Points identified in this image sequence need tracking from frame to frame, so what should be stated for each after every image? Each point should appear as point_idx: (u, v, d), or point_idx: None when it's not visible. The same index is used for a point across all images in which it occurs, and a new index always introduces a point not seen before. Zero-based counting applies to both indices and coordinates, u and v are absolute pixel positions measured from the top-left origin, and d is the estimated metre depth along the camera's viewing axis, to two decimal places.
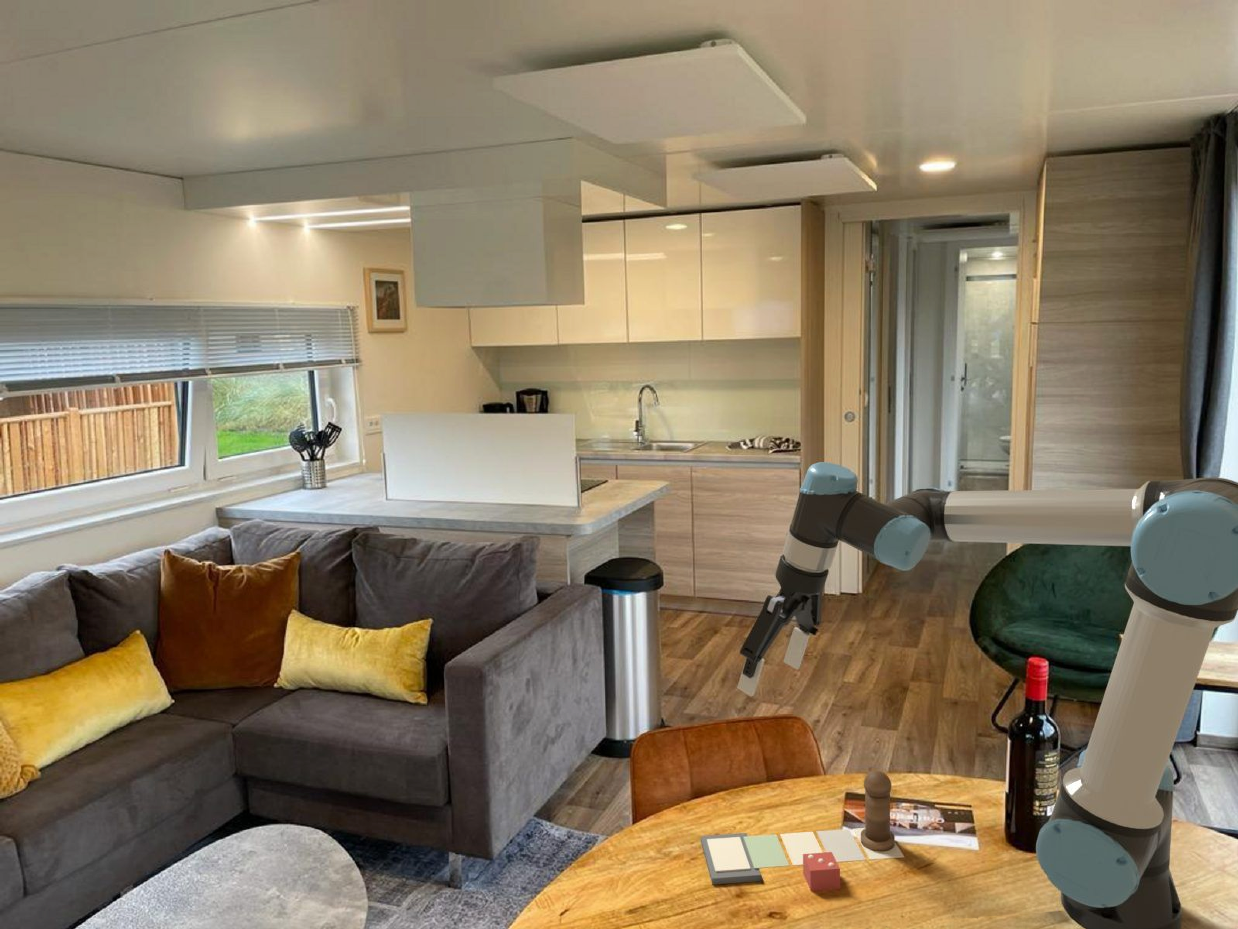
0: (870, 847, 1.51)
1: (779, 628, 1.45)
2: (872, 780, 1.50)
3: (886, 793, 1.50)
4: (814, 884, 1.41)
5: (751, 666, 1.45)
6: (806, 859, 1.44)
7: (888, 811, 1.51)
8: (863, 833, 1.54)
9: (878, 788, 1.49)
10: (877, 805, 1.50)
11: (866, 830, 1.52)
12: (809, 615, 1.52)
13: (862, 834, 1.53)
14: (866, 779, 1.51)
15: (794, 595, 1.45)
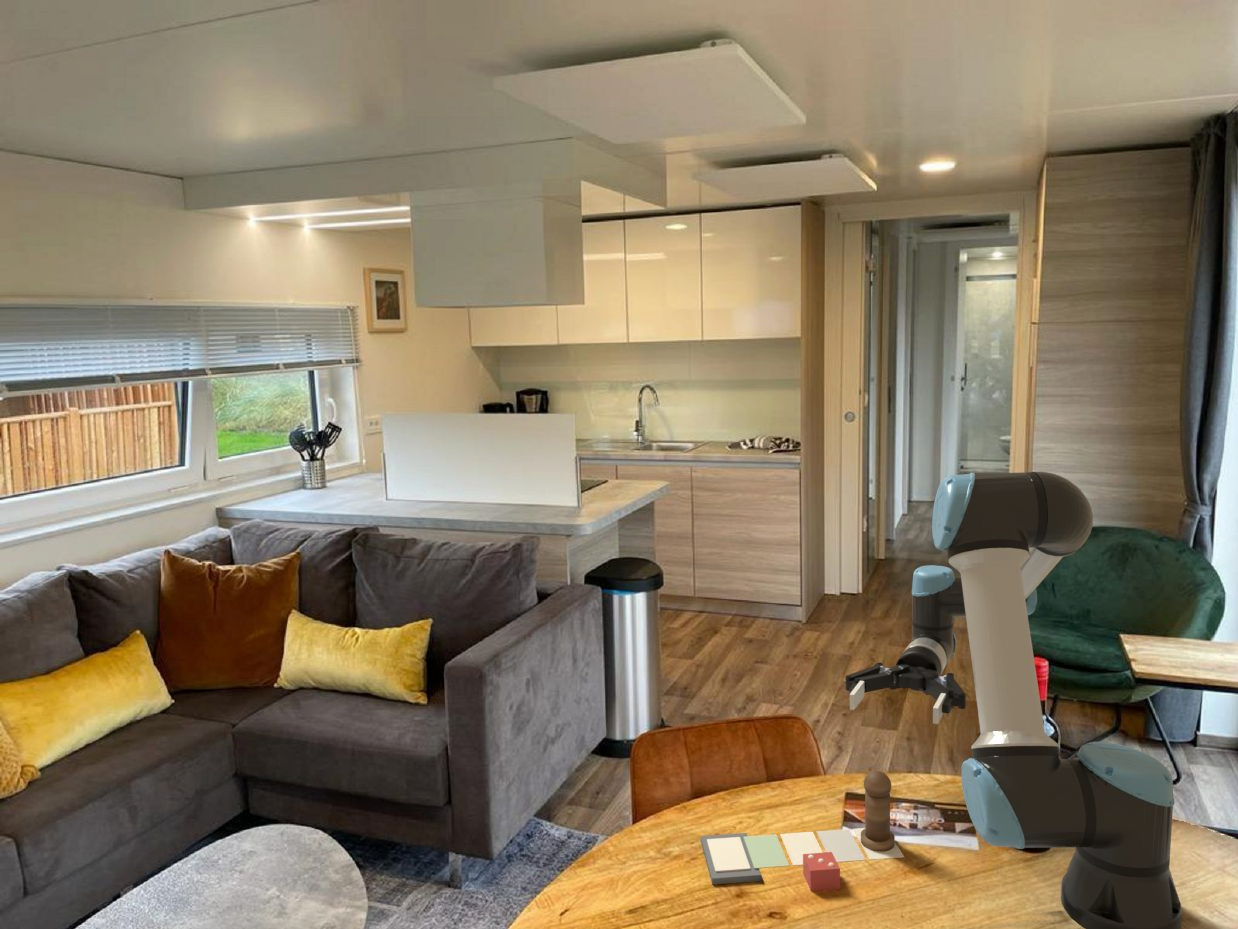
0: (870, 847, 1.51)
1: (883, 674, 1.70)
2: (872, 780, 1.50)
3: (886, 793, 1.50)
4: (814, 884, 1.41)
5: (851, 686, 1.67)
6: (806, 859, 1.44)
7: (888, 811, 1.51)
8: (863, 833, 1.54)
9: (878, 788, 1.49)
10: (877, 805, 1.50)
11: (866, 830, 1.52)
12: (936, 683, 1.65)
13: (862, 834, 1.53)
14: (866, 779, 1.51)
15: None
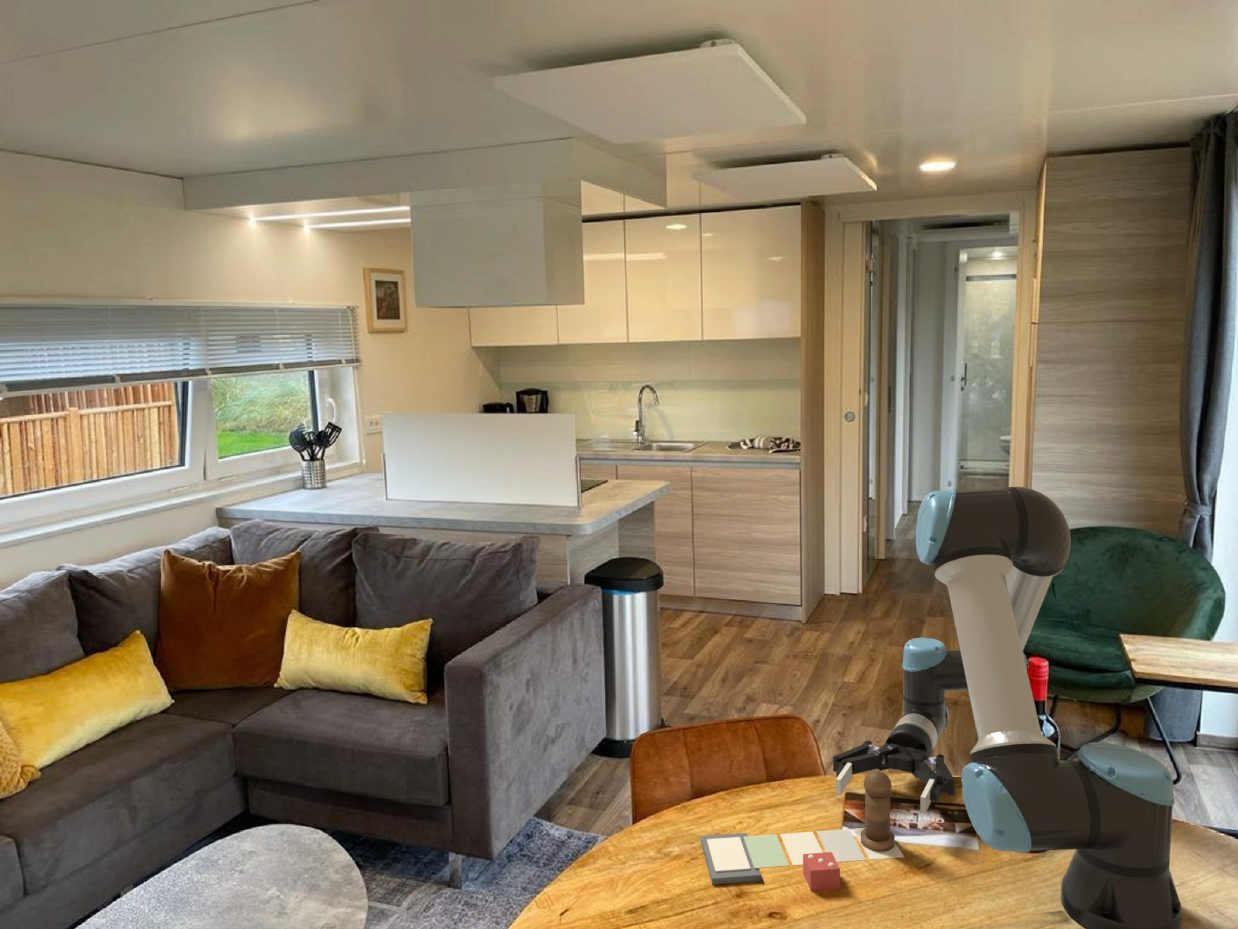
0: (870, 847, 1.51)
1: (871, 754, 1.66)
2: (872, 780, 1.50)
3: (886, 793, 1.50)
4: (814, 884, 1.41)
5: None
6: (806, 859, 1.44)
7: (888, 811, 1.51)
8: (863, 833, 1.54)
9: (878, 788, 1.49)
10: (877, 805, 1.50)
11: (866, 830, 1.52)
12: (926, 766, 1.61)
13: (862, 834, 1.53)
14: (866, 779, 1.51)
15: (890, 745, 1.70)
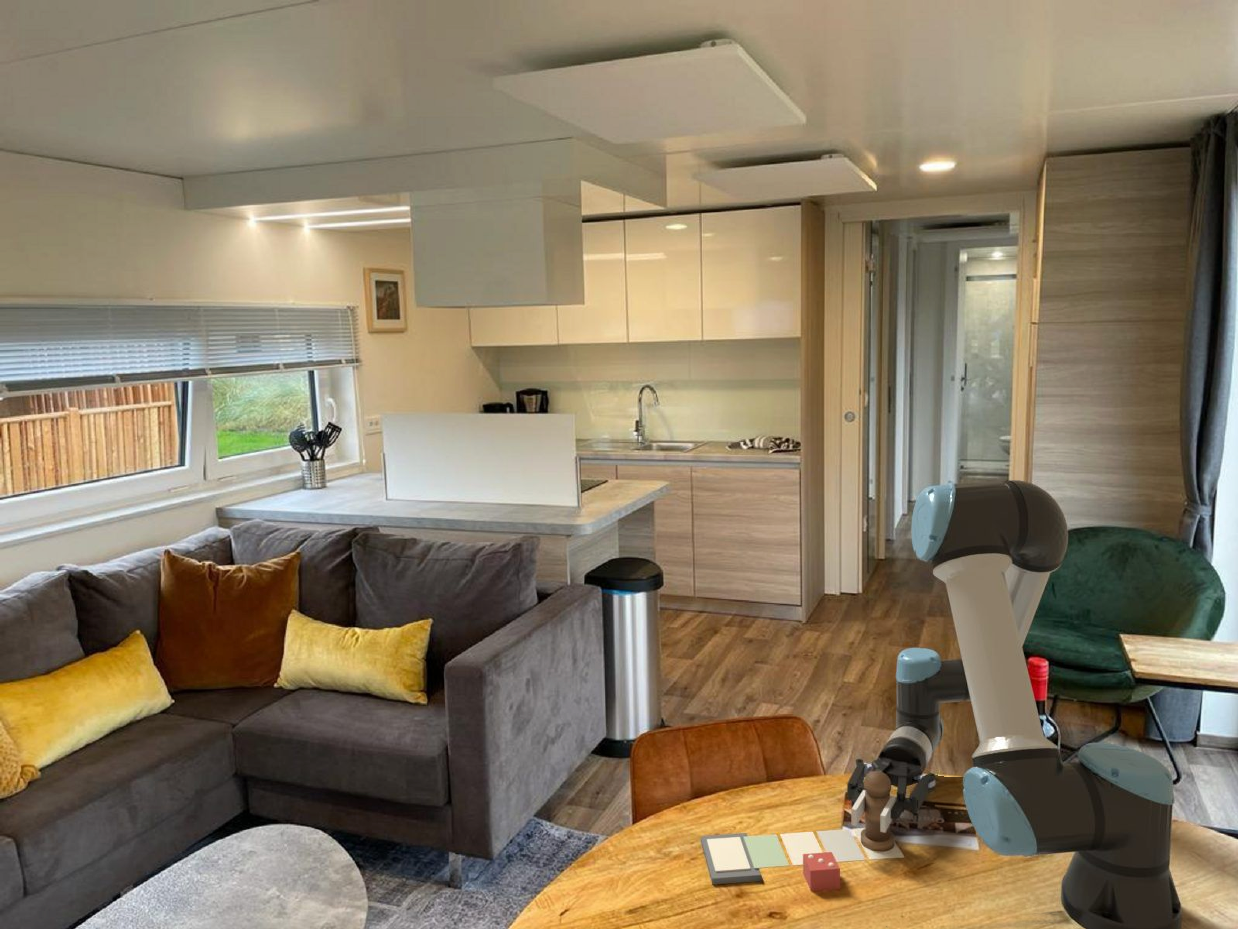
0: (870, 847, 1.51)
1: None
2: (872, 780, 1.50)
3: (886, 793, 1.50)
4: (814, 884, 1.41)
5: None
6: (806, 859, 1.44)
7: None
8: (863, 833, 1.54)
9: (878, 788, 1.49)
10: (877, 805, 1.50)
11: (866, 830, 1.52)
12: (903, 783, 1.56)
13: (862, 834, 1.53)
14: (866, 779, 1.51)
15: (879, 758, 1.65)
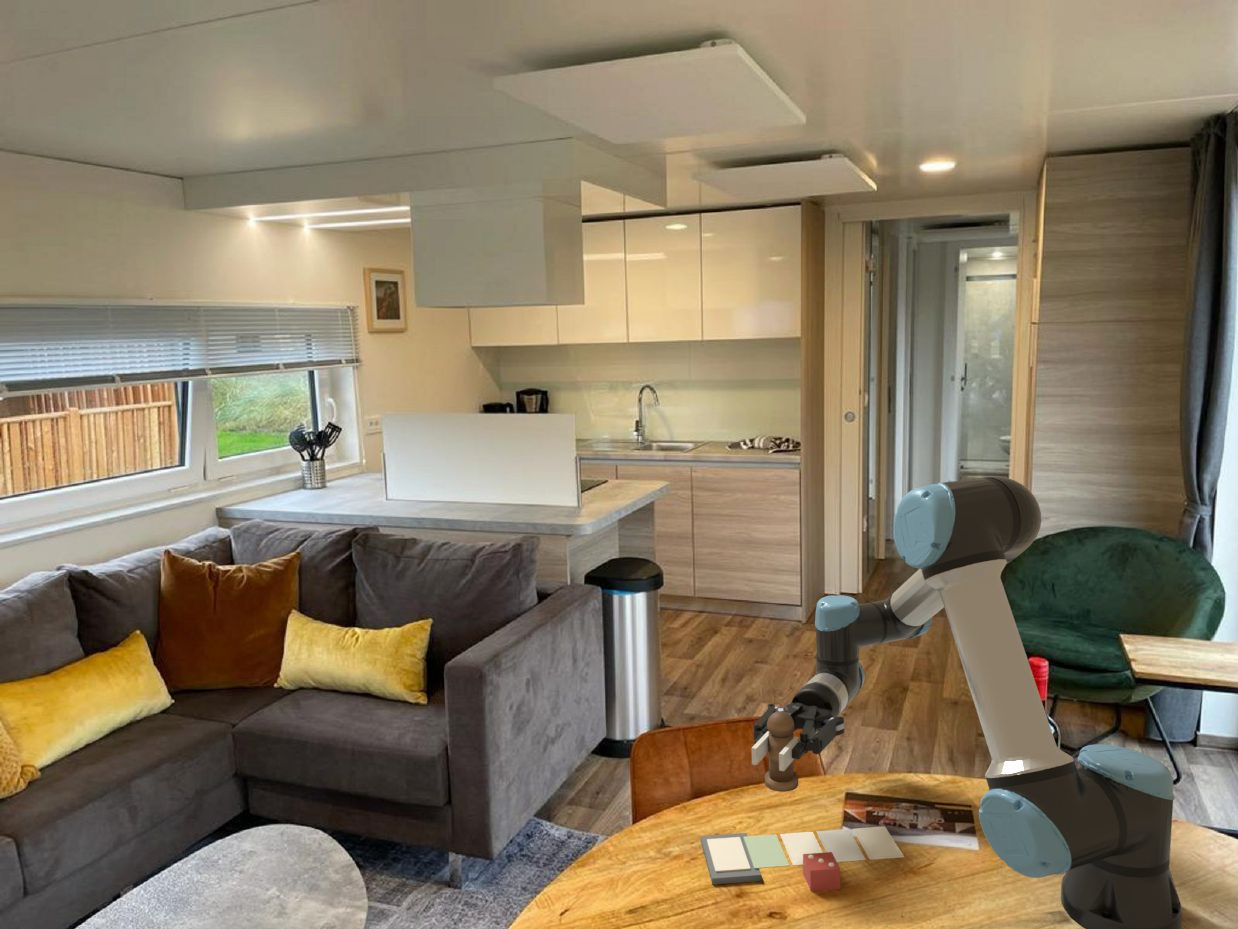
0: (772, 787, 1.50)
1: None
2: (774, 720, 1.49)
3: (788, 733, 1.49)
4: (814, 884, 1.41)
5: None
6: (806, 859, 1.44)
7: None
8: (767, 774, 1.53)
9: (779, 727, 1.48)
10: (779, 745, 1.49)
11: (769, 771, 1.51)
12: (809, 725, 1.55)
13: (766, 775, 1.52)
14: (769, 719, 1.50)
15: (792, 703, 1.64)
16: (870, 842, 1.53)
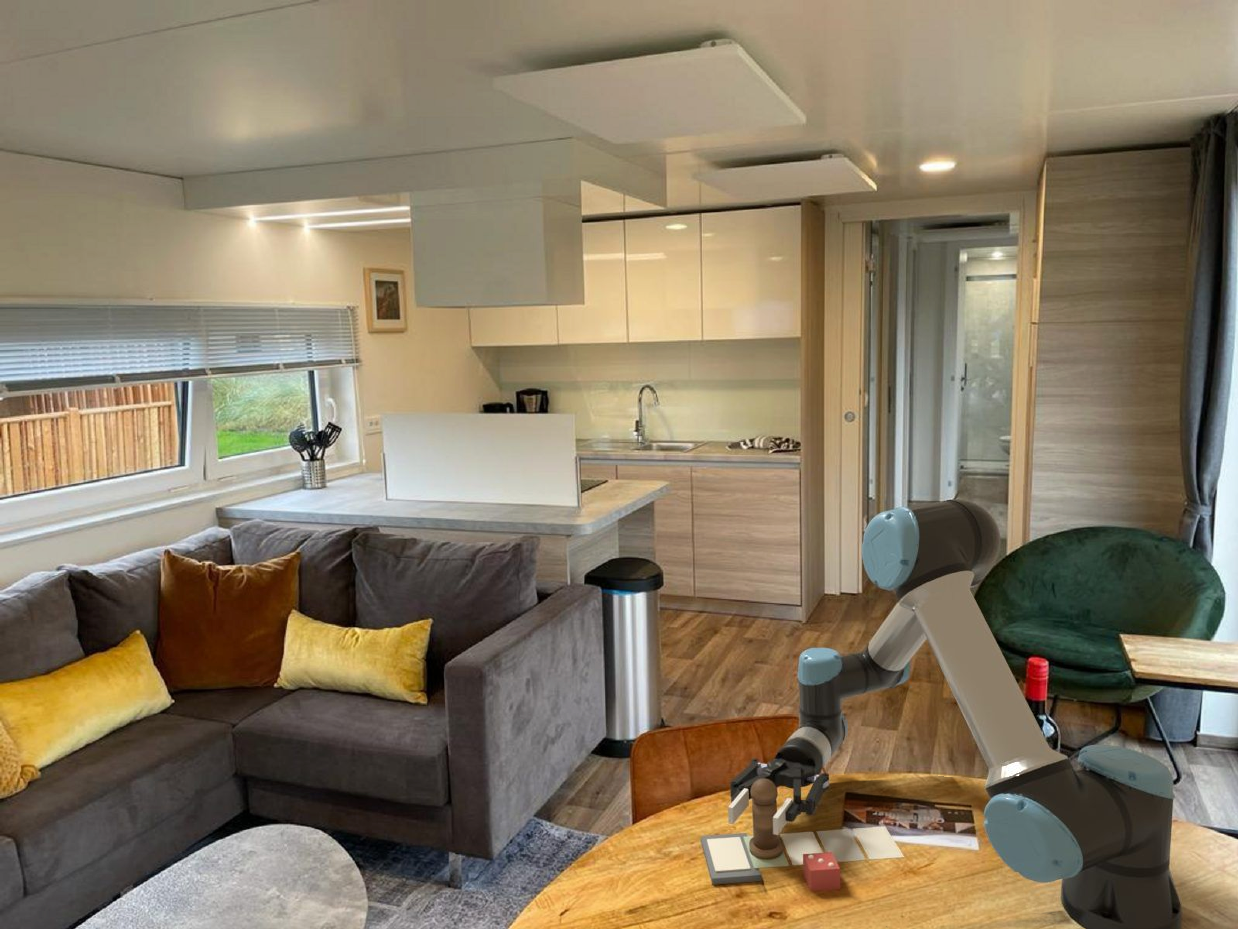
0: (757, 855, 1.50)
1: (763, 774, 1.58)
2: (757, 788, 1.49)
3: (771, 801, 1.49)
4: (814, 884, 1.41)
5: None
6: (806, 859, 1.44)
7: None
8: (752, 841, 1.53)
9: (763, 796, 1.49)
10: (762, 813, 1.49)
11: (754, 838, 1.51)
12: (798, 784, 1.55)
13: (750, 842, 1.52)
14: (752, 787, 1.50)
15: (777, 759, 1.64)
16: (870, 842, 1.53)
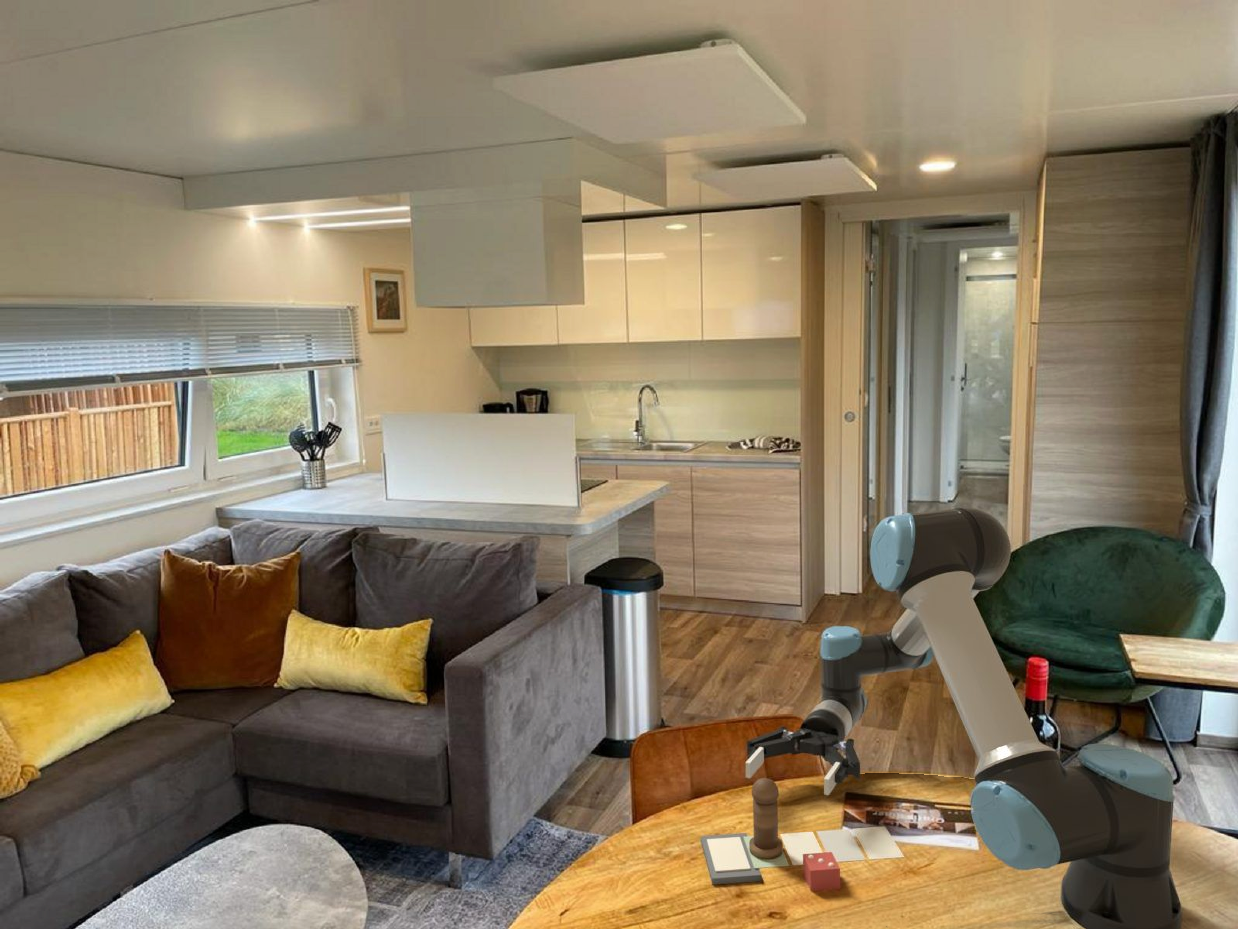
0: (757, 855, 1.50)
1: (784, 739, 1.71)
2: (759, 787, 1.49)
3: (772, 800, 1.49)
4: (814, 884, 1.41)
5: None
6: (806, 859, 1.44)
7: (775, 819, 1.50)
8: (752, 840, 1.53)
9: (764, 795, 1.49)
10: (763, 813, 1.49)
11: (754, 838, 1.52)
12: (834, 750, 1.66)
13: (751, 842, 1.52)
14: (753, 786, 1.50)
15: (804, 730, 1.74)
16: (870, 842, 1.53)
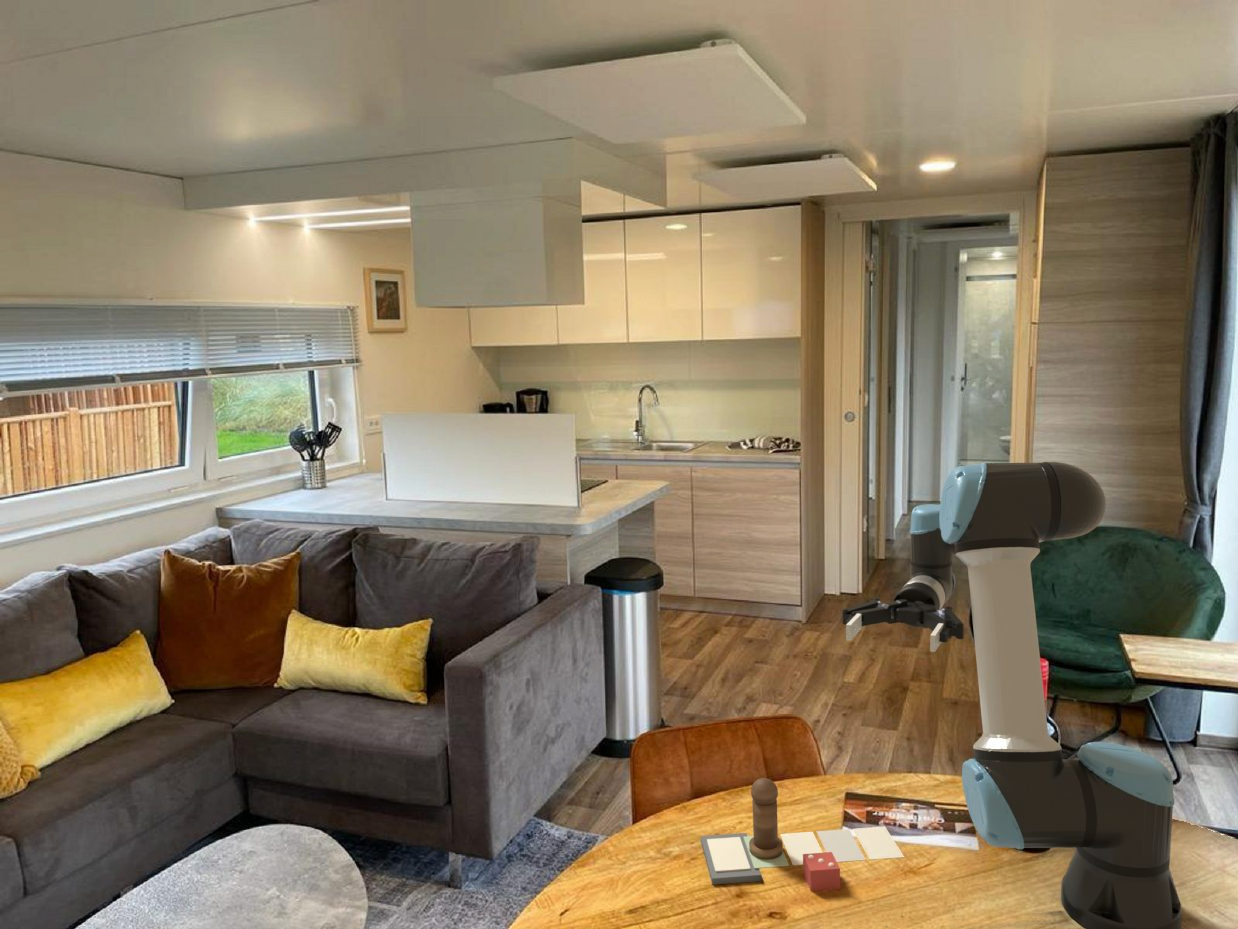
0: (757, 855, 1.50)
1: (880, 608, 1.68)
2: (758, 787, 1.49)
3: (771, 800, 1.49)
4: (814, 884, 1.41)
5: None
6: (806, 859, 1.44)
7: (774, 819, 1.50)
8: (752, 840, 1.53)
9: (763, 795, 1.49)
10: (762, 813, 1.49)
11: (754, 838, 1.52)
12: (934, 615, 1.63)
13: (751, 842, 1.52)
14: (752, 786, 1.50)
15: None
16: (870, 842, 1.53)
